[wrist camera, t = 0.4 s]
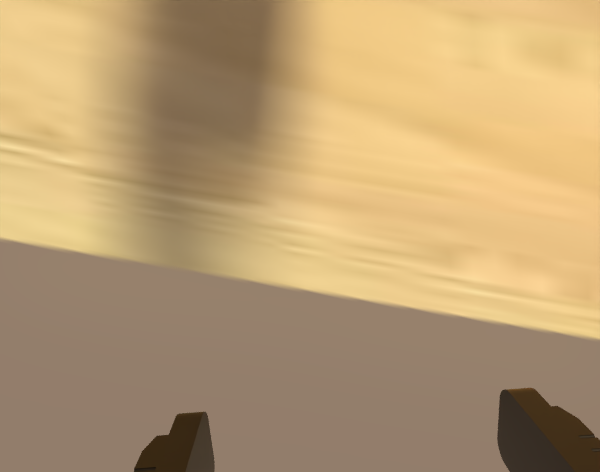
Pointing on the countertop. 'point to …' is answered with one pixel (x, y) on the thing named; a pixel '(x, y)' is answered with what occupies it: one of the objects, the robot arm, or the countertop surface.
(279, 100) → the countertop surface
